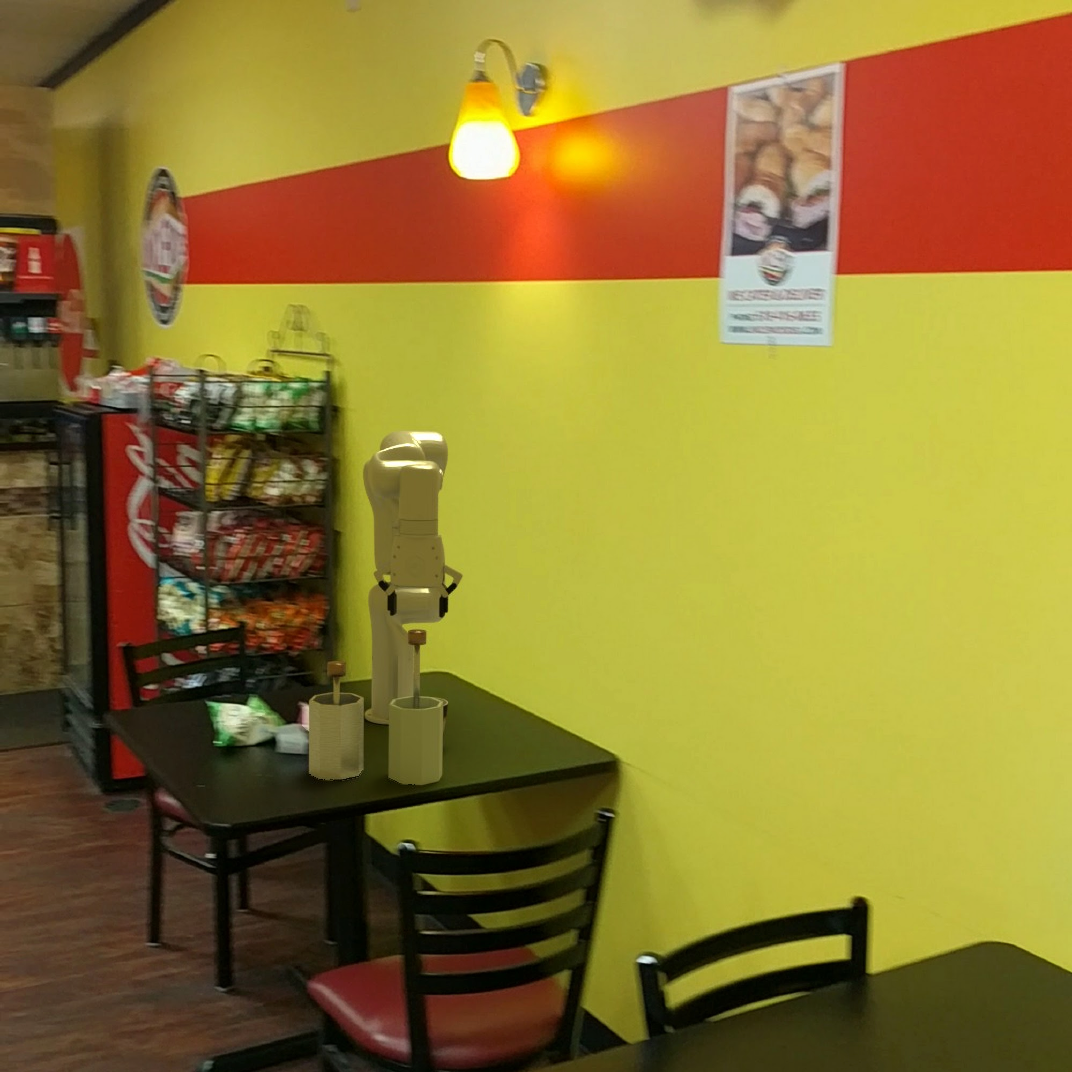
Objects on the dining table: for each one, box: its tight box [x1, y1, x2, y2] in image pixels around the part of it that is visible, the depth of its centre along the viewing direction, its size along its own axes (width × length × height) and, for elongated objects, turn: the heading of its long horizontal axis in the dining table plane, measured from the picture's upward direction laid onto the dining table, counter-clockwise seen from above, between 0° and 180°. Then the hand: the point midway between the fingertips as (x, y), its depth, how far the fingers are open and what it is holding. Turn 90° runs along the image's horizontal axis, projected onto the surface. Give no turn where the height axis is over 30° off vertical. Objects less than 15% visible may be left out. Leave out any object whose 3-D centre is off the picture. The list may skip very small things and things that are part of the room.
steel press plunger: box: [326, 660, 347, 705], centre depth 261 cm, size 8×8×17 cm
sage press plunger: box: [406, 628, 427, 709], centre depth 258 cm, size 8×8×17 cm
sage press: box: [388, 696, 444, 786], centre depth 260 cm, size 10×10×15 cm
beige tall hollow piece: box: [308, 691, 365, 781], centre depth 262 cm, size 10×10×15 cm
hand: (417, 615), depth 256 cm, fingers open, 9 cm apart
